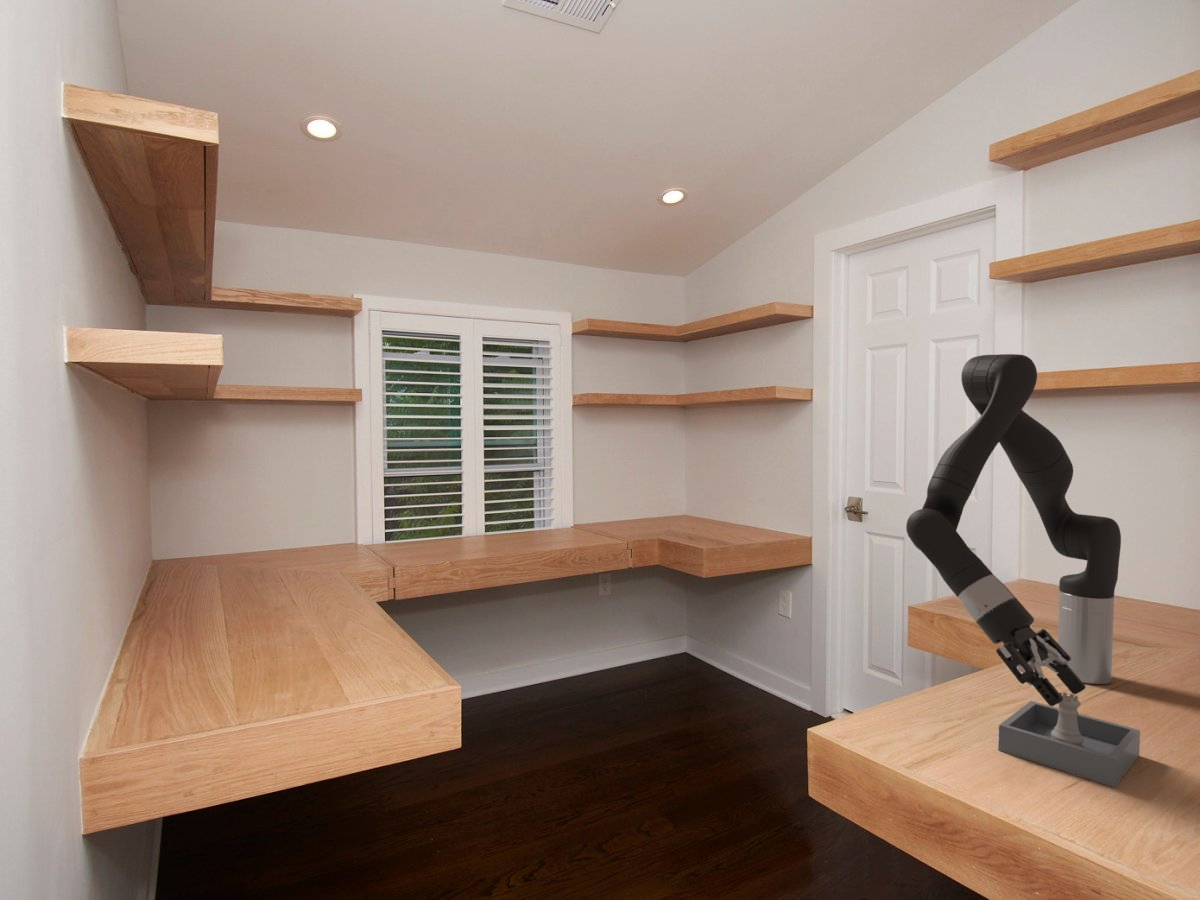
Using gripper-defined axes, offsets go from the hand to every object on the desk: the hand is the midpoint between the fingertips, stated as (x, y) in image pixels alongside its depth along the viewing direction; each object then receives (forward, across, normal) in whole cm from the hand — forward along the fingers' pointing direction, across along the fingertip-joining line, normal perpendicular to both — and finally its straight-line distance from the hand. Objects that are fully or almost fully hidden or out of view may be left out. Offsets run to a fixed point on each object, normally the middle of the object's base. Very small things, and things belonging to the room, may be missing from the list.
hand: (1069, 697), depth 108 cm
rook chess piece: (+6, 0, +6) cm, 8 cm away
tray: (+6, 0, +6) cm, 9 cm away
